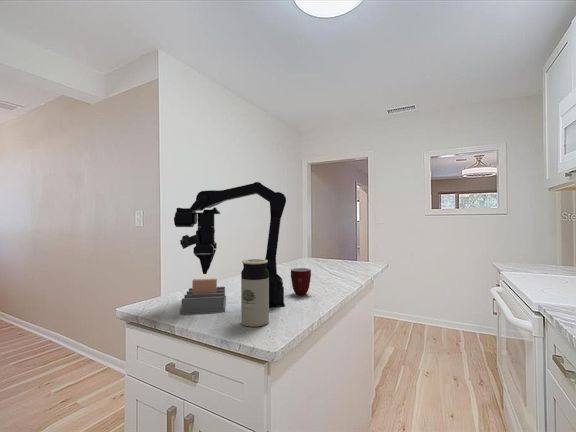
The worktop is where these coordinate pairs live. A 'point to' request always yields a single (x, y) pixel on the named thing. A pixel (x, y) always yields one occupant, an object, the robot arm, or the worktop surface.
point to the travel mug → (254, 293)
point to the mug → (300, 280)
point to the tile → (204, 286)
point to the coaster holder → (204, 302)
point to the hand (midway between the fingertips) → (206, 271)
